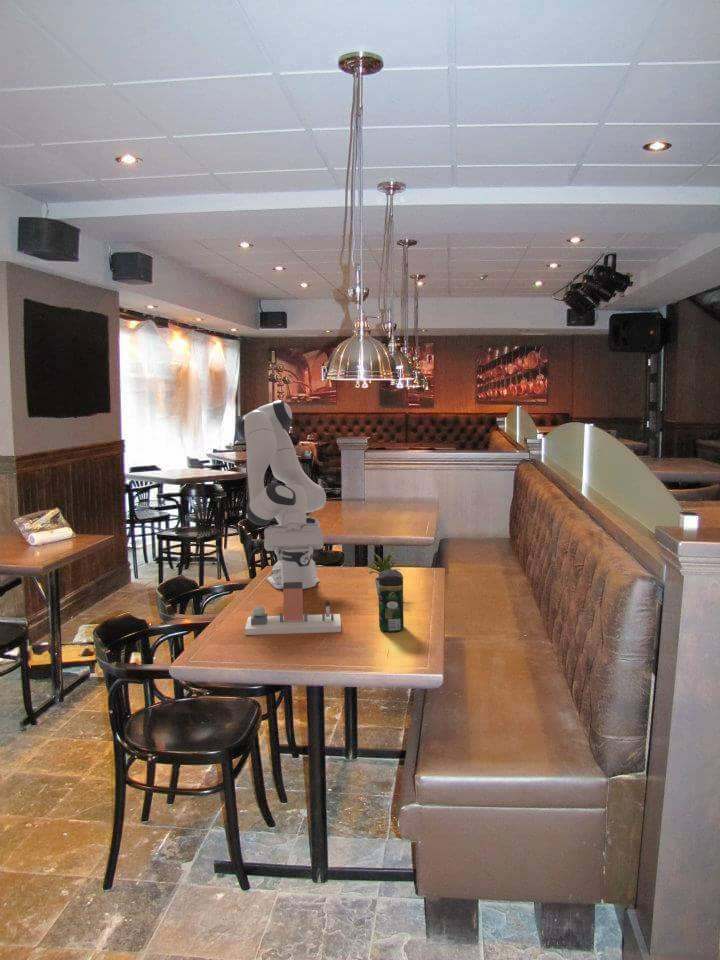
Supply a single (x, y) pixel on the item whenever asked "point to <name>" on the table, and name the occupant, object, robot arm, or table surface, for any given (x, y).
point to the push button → (258, 611)
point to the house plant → (382, 566)
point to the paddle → (293, 600)
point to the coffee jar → (390, 600)
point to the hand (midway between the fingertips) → (293, 559)
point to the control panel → (292, 624)
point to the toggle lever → (327, 608)
